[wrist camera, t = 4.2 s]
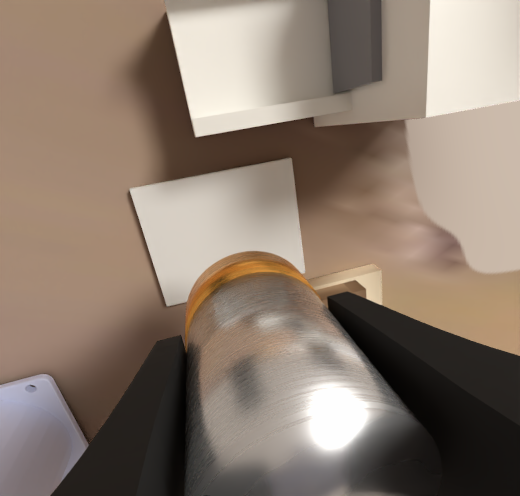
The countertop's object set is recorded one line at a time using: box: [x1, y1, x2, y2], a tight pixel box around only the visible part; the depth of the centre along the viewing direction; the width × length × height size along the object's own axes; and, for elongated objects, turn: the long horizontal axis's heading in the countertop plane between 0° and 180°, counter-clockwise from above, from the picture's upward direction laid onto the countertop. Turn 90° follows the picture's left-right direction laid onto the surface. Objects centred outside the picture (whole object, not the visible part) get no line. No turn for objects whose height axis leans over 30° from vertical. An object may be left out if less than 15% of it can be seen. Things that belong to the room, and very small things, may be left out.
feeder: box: [164, 0, 520, 137], centre depth 11 cm, size 11×6×8 cm, turn 99°
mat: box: [129, 158, 305, 307], centre depth 16 cm, size 8×6×1 cm
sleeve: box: [184, 251, 442, 496], centre depth 7 cm, size 4×4×6 cm
